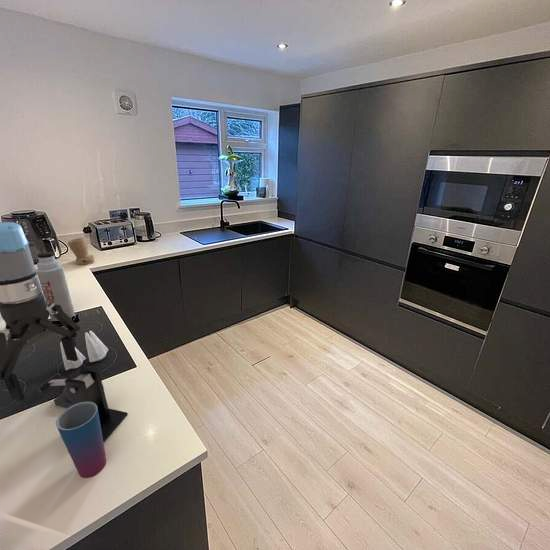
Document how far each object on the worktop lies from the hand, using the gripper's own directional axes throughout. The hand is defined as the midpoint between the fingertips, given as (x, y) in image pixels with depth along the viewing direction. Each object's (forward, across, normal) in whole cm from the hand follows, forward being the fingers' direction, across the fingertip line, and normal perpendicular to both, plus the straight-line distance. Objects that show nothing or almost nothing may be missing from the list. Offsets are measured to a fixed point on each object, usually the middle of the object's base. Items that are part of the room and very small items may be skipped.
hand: (48, 377), depth 68 cm
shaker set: (+13, +20, +11) cm, 26 cm away
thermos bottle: (+13, +40, +42) cm, 59 cm away
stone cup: (+12, +100, +91) cm, 135 cm away
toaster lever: (+1, 0, -6) cm, 6 cm away
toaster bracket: (+13, 0, -10) cm, 17 cm away
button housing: (+13, +6, +1) cm, 14 cm away
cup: (+13, -9, -18) cm, 24 cm away
